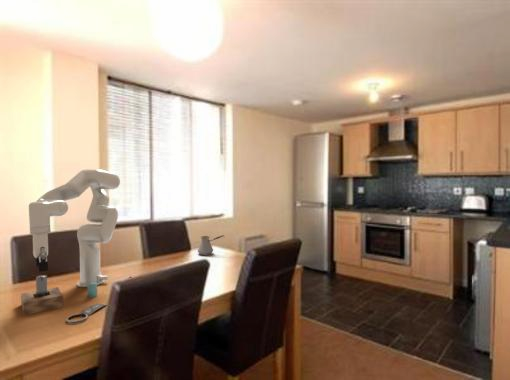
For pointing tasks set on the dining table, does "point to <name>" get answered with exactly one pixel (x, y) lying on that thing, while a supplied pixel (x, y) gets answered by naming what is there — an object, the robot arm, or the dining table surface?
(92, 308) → the grey ring with handle
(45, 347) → the dining table surface
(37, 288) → the tall pin
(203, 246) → the coffee pot
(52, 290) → the hole block
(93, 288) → the short pin
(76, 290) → the dining table surface
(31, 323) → the dining table surface
